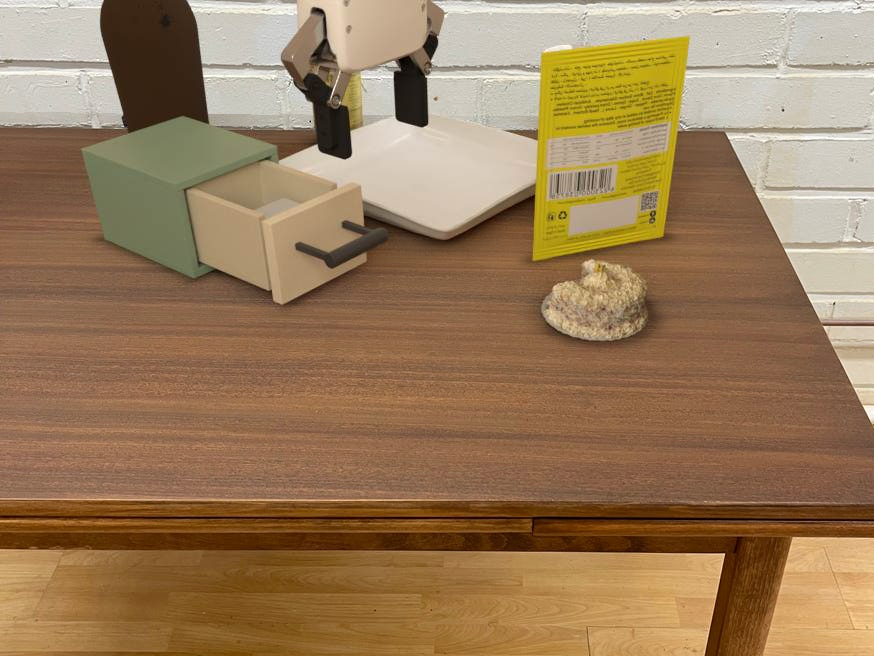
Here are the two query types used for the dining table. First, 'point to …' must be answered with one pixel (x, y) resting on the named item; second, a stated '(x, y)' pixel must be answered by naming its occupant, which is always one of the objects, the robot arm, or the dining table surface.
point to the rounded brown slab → (154, 60)
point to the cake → (599, 303)
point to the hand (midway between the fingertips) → (375, 138)
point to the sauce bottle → (350, 100)
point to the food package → (606, 144)
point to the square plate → (430, 172)
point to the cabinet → (163, 184)
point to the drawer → (279, 228)
